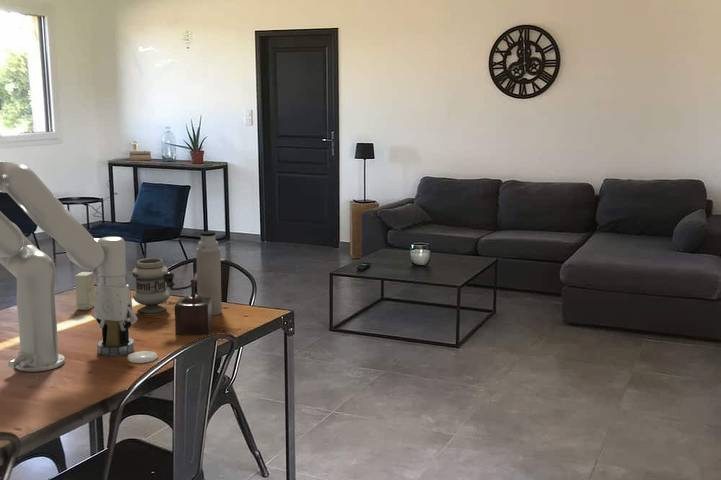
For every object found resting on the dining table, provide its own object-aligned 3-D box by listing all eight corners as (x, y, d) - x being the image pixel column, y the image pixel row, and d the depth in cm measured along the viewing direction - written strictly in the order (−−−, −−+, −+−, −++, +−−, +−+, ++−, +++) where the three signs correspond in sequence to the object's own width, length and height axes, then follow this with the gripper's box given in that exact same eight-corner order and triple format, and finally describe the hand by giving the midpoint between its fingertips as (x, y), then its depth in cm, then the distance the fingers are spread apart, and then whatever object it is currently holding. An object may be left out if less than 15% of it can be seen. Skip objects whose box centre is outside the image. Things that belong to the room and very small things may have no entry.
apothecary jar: (126, 313, 256) (124, 261, 253) (148, 305, 267) (147, 255, 264) (155, 318, 252) (153, 265, 248) (177, 309, 262) (175, 258, 259)
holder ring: (120, 357, 212) (119, 349, 212) (90, 353, 215) (90, 345, 215) (140, 347, 222) (140, 339, 221) (112, 343, 225) (112, 335, 224)
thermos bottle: (209, 308, 264) (207, 229, 259) (226, 311, 260) (225, 231, 255) (193, 313, 258) (190, 232, 253) (210, 317, 254) (208, 235, 249)
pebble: (146, 364, 207) (146, 361, 207) (121, 361, 210) (121, 358, 210) (162, 355, 215) (162, 353, 215) (138, 352, 217) (138, 349, 217)
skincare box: (89, 310, 260) (87, 275, 258) (76, 309, 260) (74, 275, 258) (95, 305, 266) (94, 271, 264) (83, 305, 266) (81, 271, 264)
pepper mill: (213, 324, 245) (212, 270, 242) (208, 335, 234) (207, 278, 231) (165, 324, 244) (163, 270, 241) (157, 335, 234) (155, 278, 230)
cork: (120, 354, 215) (118, 317, 213) (101, 353, 216) (99, 316, 214) (130, 348, 221) (129, 311, 219) (112, 346, 222) (110, 310, 220)
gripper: (79, 280, 214) (82, 342, 217) (130, 286, 209) (133, 348, 212) (96, 275, 221) (99, 334, 224) (146, 280, 216) (148, 341, 219)
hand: (115, 340), depth 218 cm, fingers open, 5 cm apart
